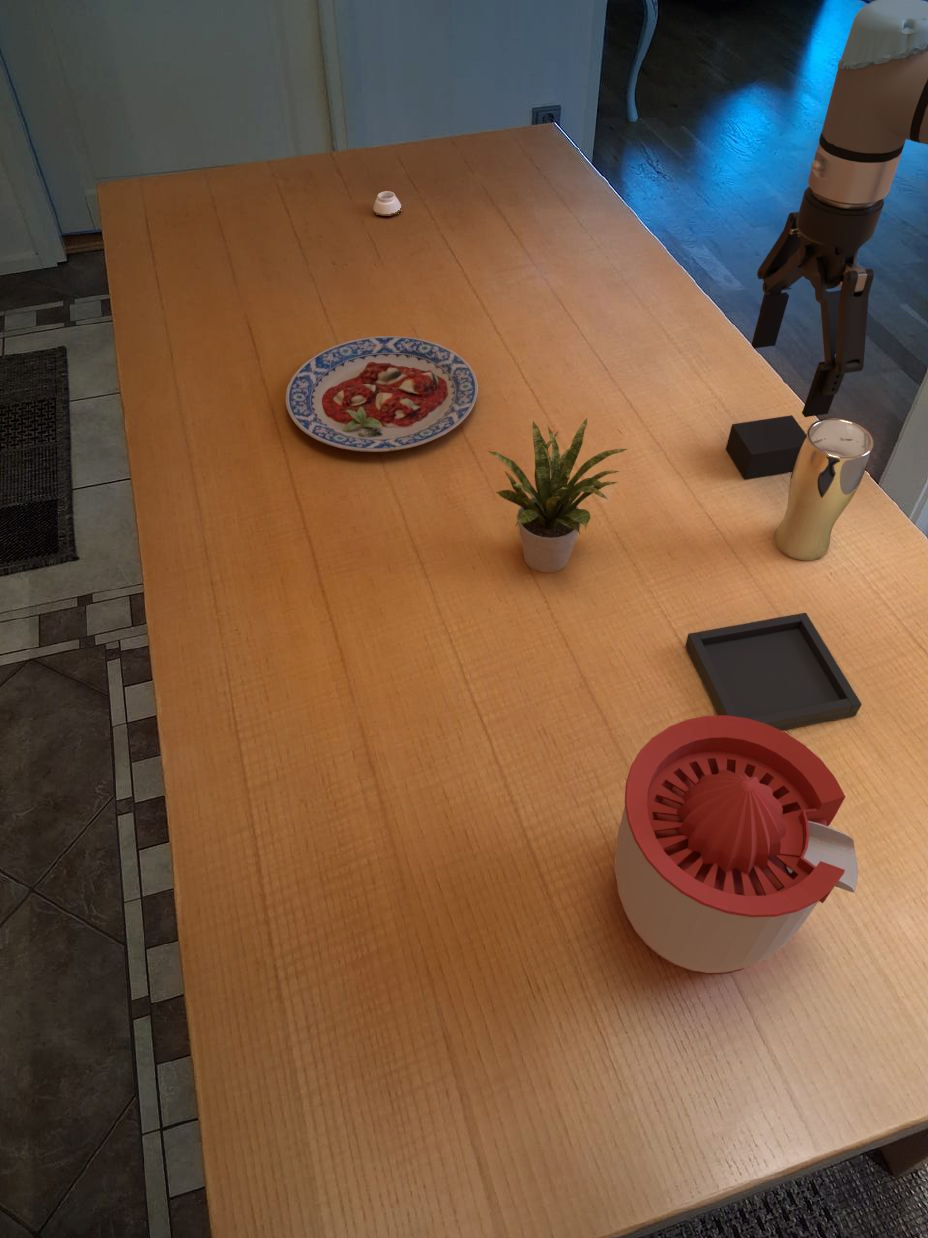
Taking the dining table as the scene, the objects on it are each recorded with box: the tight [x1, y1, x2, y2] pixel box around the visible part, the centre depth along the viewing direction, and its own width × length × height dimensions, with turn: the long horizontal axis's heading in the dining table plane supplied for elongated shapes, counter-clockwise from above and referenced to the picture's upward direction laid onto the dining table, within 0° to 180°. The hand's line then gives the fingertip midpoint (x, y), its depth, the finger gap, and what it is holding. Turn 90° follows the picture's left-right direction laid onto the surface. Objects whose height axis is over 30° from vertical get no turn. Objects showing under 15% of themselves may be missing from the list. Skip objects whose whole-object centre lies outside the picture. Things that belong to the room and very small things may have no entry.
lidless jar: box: [372, 190, 402, 214], centre depth 157 cm, size 5×3×5 cm
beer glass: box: [773, 417, 874, 562], centre depth 97 cm, size 7×7×15 cm
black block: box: [725, 414, 807, 481], centre depth 111 cm, size 8×6×4 cm
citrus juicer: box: [614, 715, 859, 975], centre depth 68 cm, size 16×17×20 cm
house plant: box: [487, 417, 629, 574], centre depth 96 cm, size 14×14×16 cm
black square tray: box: [685, 612, 862, 731], centre depth 90 cm, size 13×12×2 cm
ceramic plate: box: [285, 335, 479, 453], centre depth 121 cm, size 26×26×3 cm
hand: (787, 378), depth 103 cm, fingers open, 13 cm apart
